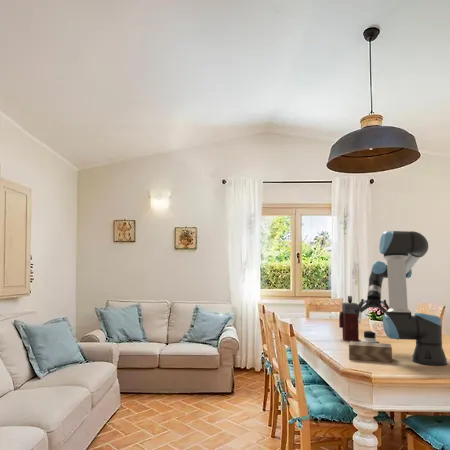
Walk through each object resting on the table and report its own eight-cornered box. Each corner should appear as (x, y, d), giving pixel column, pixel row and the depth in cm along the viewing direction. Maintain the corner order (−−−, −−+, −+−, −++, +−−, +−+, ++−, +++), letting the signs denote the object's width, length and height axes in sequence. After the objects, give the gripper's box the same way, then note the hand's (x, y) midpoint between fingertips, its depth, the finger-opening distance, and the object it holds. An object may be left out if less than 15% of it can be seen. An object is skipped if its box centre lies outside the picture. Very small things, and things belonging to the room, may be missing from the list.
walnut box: (390, 357, 220) (390, 343, 221) (392, 362, 208) (391, 347, 209) (350, 354, 226) (349, 341, 227) (349, 359, 215) (348, 344, 216)
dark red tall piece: (338, 338, 284) (338, 295, 287) (356, 338, 283) (355, 295, 286) (340, 340, 276) (340, 295, 279) (358, 340, 274) (358, 296, 277)
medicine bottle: (367, 355, 225) (367, 332, 226) (360, 353, 232) (360, 330, 233) (380, 355, 226) (379, 332, 228) (372, 352, 233) (372, 330, 235)
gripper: (397, 299, 252) (396, 328, 237) (353, 297, 263) (349, 325, 248) (396, 290, 248) (395, 319, 233) (351, 289, 259) (348, 317, 244)
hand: (371, 322), depth 240 cm, fingers open, 13 cm apart
